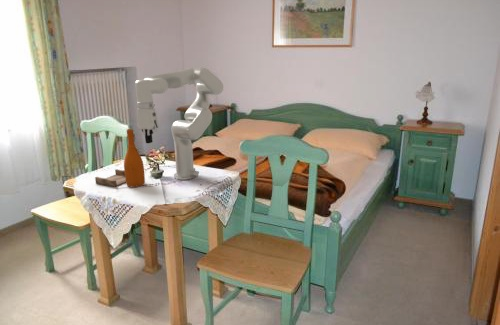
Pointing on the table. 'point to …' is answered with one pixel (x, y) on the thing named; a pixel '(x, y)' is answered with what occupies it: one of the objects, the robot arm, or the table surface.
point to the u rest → (112, 179)
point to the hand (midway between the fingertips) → (149, 142)
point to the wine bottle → (133, 164)
